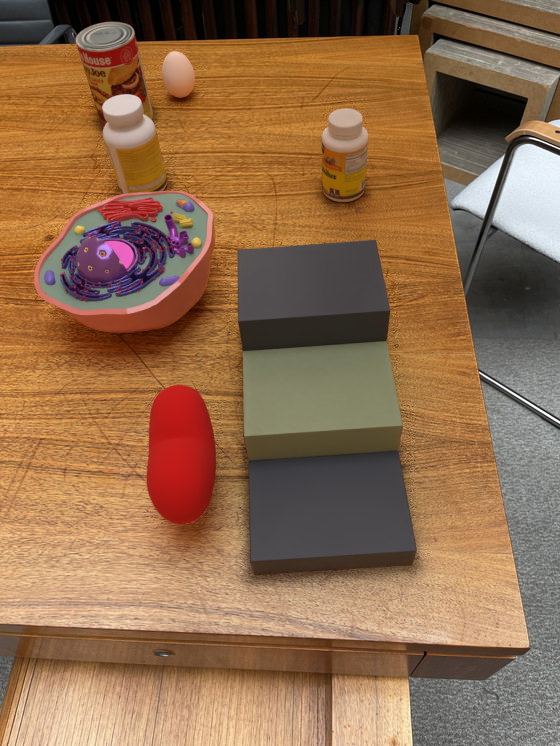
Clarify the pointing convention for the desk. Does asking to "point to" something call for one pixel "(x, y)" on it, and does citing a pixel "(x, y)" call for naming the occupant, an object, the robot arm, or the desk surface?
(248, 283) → the tiered shelf
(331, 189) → the supplement bottle
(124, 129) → the pill bottle
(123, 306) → the cell model
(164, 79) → the egg
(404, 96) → the desk surface
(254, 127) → the desk surface
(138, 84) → the canned food
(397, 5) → the robot arm
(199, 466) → the red kidney model
